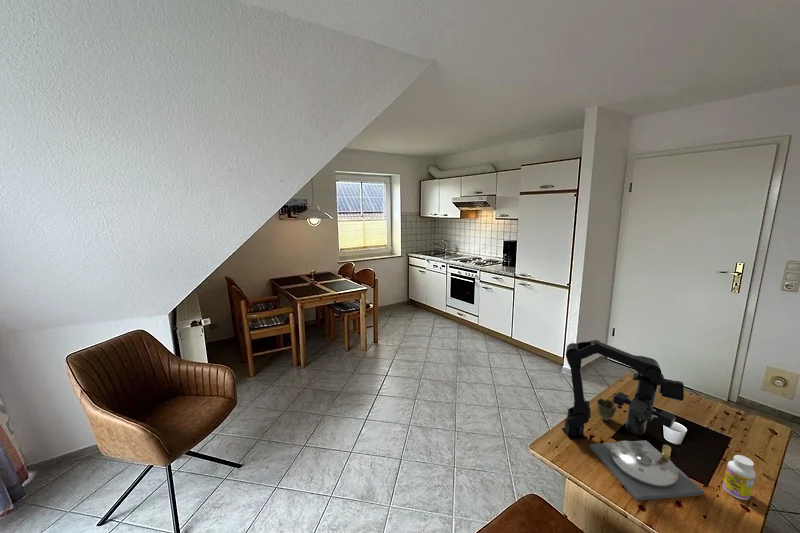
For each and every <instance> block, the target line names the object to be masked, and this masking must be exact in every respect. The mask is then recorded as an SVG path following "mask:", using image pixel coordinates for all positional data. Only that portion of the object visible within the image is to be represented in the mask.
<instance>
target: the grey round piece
mask: <svg viewBox="0 0 800 533" xmlns="http://www.w3.org/2000/svg"><path fill="white" fill-rule="evenodd" d="M613 443H614V442H613ZM655 449H656V448H655ZM655 449H653V448H651V447H649V446H647V445H644V444H641V443H638V442H633V440H619V441H616V443H614V444H613V445H612V447H611V452H610V456H611V459H612V461H613V463H614V464H615V465H616V467H617V468H618V469H619V470H620V471H622V472H623V473H624V474H625V475H627V476H628V477H630V478H632V479H634V480H635V481H638V482H640V483H642V484H645V485H648V486H651V487H656V488H670V487H672V486H674V485H675V484H676V483H677V479H678V470H677V468H678V467H677V466H676V465H675V464H674V462H673V461H672V460H671V458H670V457H671V452H672V447H671V446H670V445H668V444H662V450H661V452H660V451H659V450H658V449H657V450H658V451H657V450H655ZM676 467H677V468H676Z"/></svg>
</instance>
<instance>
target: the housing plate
mask: <svg viewBox="0 0 800 533" xmlns="http://www.w3.org/2000/svg"><path fill="white" fill-rule="evenodd" d="M632 441H633V440H632ZM616 442H617V441H616ZM616 442H602V443H590V444H589V448H590V449H591V450H592V452H593V453H594V454H595V455H596V456H597V457H598V458H599V460H600V461H601V462H602V463H603V465H605V467H606V468H607V469H608V470H609V471H610V472H611V473H612V475H613V476H614V477H615V478H616V479H617V480H618V481H619V482H620V484H621V485H622V486H623V487H624V488H625V489H626V491H628V493H629V494H630V496H632V497H633V498H634V500H635V501H637V502H638V501H646V500H647V501H649V500H650V501H651V500H662V499H673V498H685V497H696V496H704V494H705V490H703V489H702V488H701V487H700V486H699V485H698V484H697V483H695V481H693V480H692V479H691V478H689V476H687V475H686V474H685V473H684V472H683V471H682V470H681V469H680V468H679V467H677V466H676V468H677V470H678V479H677V483H676V484H675V485H674V486H672V487H670V488H656V487H651V486H648V485H645V484H642V483H640V482H638V481H635V480H634V479H632V478H630V477H628V476H627V475H625V474H624V473H623V472H622V471H620V470H619V469H618V468H617V467H616V465H615V464H614V463H613V461H612V459H611V456H610V452H611V447H612V445H613V444H614V443H616ZM633 442H638V443H641V444H644V445H647V446H649V447H651V448H653V449H655V450H657V451H659V450H658V449H657V448H655V446H653V445H652V444H651V443H650V442H649V441H647V439H646V440H634V441H633Z"/></svg>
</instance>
